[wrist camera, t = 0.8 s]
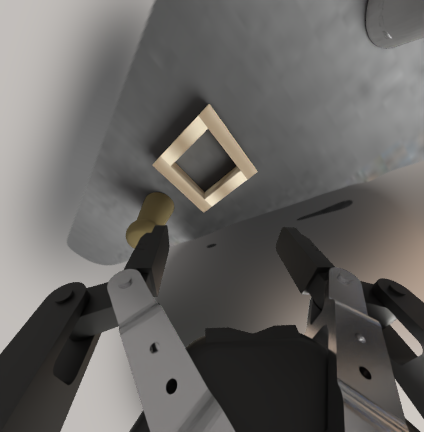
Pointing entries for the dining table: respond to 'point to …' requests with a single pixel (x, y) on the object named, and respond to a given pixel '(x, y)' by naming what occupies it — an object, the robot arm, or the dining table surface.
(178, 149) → the socket block
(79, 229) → the dining table surface
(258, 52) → the dining table surface
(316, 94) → the dining table surface
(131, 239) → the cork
